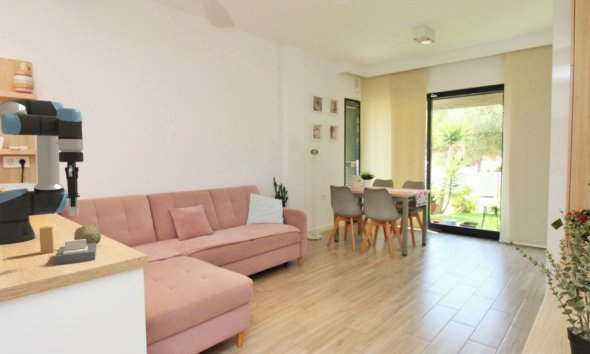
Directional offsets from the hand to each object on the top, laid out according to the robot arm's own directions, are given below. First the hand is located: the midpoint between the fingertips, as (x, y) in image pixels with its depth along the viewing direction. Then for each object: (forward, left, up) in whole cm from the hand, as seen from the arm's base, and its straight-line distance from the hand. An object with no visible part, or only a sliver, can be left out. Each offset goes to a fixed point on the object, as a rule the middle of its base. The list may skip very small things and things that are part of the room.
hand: (73, 215), depth 124 cm
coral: (-19, +2, -16) cm, 25 cm away
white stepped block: (+2, 0, -13) cm, 13 cm away
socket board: (-1, 0, -16) cm, 16 cm away
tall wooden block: (-16, -11, -16) cm, 25 cm away
